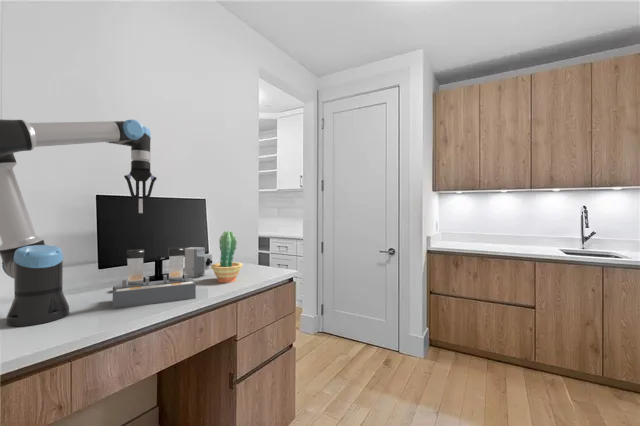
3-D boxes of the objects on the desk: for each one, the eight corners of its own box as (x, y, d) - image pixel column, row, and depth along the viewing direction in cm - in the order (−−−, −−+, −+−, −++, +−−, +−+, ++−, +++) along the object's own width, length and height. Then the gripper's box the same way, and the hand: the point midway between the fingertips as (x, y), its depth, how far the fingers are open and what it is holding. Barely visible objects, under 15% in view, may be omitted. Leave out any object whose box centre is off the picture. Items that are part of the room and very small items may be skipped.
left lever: (127, 287, 116) (126, 253, 110) (127, 282, 118) (126, 248, 112) (144, 285, 118) (143, 252, 113) (144, 280, 121) (144, 247, 115)
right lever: (168, 283, 122) (169, 251, 117) (167, 278, 125) (168, 246, 119) (183, 281, 125) (184, 250, 119) (182, 276, 128) (184, 245, 122)
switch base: (112, 308, 110) (112, 284, 110) (116, 300, 120) (116, 277, 120) (195, 298, 123) (195, 276, 123) (192, 291, 134) (192, 270, 134)
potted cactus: (247, 278, 160) (248, 230, 160) (232, 285, 145) (232, 232, 145) (221, 276, 164) (222, 230, 164) (204, 282, 149) (204, 232, 149)
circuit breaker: (207, 277, 160) (207, 249, 160) (183, 276, 163) (183, 248, 163) (214, 274, 167) (214, 247, 167) (191, 273, 170) (191, 247, 170)
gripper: (157, 163, 144) (156, 212, 144) (124, 160, 138) (124, 212, 138) (157, 161, 137) (157, 213, 138) (123, 158, 131) (123, 213, 131)
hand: (140, 212), depth 138 cm, fingers closed
